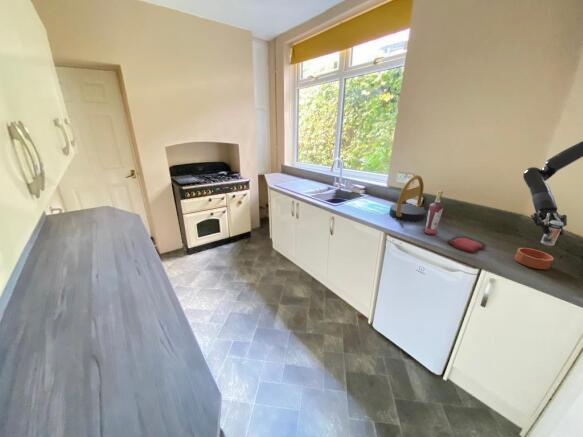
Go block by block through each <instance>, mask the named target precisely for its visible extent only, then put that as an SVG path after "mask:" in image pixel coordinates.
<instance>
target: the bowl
mask: <svg viewBox="0 0 583 437" xmlns="http://www.w3.org/2000/svg"><path fill="white" fill-rule="evenodd" d="M514 260H515V261H516V262H518V263H519V264H521V265H523V266H526V267H528V268H531V269H536V270H549V269H550V268H551V266H552V263H553V262H554V257H553V256H552V255H551V254H549V253H547V252H544V251H542V250H539V249H535V248H530V247H518V248H517V250H516V253H515V255H514Z"/></svg>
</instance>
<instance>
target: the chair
mask: <svg viewBox="0 0 583 437" xmlns="http://www.w3.org/2000/svg"><path fill="white" fill-rule="evenodd" d="M415 180H418V184H419V185H415V186H412V187H410V185H411V184H412V182H414V181H415ZM424 188H425V186H424V180H423V177H422V176H421V175H419V174H415V175H413V176H411V177H409V179H407V181H406V182H405V184H404V185H403V186H402V189H401V191H400V193H399V197H398V200H397V203H395V204H391V205H390V208H389V212H388V215H389V216H390V217H391V216H392V217H391V218H393V219H395V218H396V219H395V220H398V219H399V220H398V221H401V220H403V221H402V222H407V221H409V222H408V223H421V222H424V221H425V220H424V219H426V216H427V210H426V209H425V208H423V207H420V206H421V204H422V200H423V194H424ZM416 197H417V201H416V205H414V204H408V203H407V204H406V203H403V202H405V201H408V200H411V199H414V198H416ZM423 220H424V221H423ZM420 221H421V222H420Z"/></svg>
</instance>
